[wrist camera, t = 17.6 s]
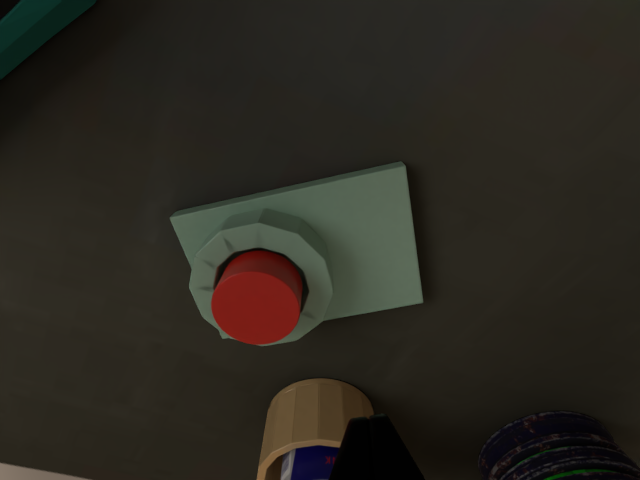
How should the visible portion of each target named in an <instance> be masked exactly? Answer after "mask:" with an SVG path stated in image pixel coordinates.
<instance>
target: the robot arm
mask: <svg viewBox="0 0 640 480" xmlns="http://www.w3.org/2000/svg"><path fill="white" fill-rule="evenodd" d="M328 480H425V478H424V477H423V475H422V473H421V472H420V470H419V468H418V467H417V465H416V463H415V461H414V460H413V458H412V456H411V455H410V453H409V451H408V450H407V448H406V446H405V445H404V443H403V441H402V440H401V438H400V436H399V434H398V433H397V431H396V429H395V428H394V426H393V424H392V423H391V421H390V419H389V418H388V416H387V415H386V414H377V415H371V416H369V418H367V417H366V416H363V417H356V418H351V419H350V420H349V422H348V424H347V427H346V430H345V433H344V436H343V439H342V442H341V445H340V447H339V450H338V453H337V456H336V459H335V462H334V465H333V468H332V471H331V474H330V476H329V479H328Z"/></svg>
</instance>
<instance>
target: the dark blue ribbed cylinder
mask: <svg viewBox="0 0 640 480" xmlns="http://www.w3.org/2000/svg"><path fill="white" fill-rule="evenodd" d="M478 467H479V470H480V473H481V476H482V478H483V480H640V468H639V467H638V466H637V465H636V463H635V462H634V461H633V460H632V459H630V458H629V457H628V456H627V455H626V454H625V452H624V451H623V450H622V449H621V448H620V447H619V446H618V445H617V444H616V443H614V440H613V438H612V436H611V435H610V434H609V432H608V431H607V430H606V428H605V427H604V426H603V425H602V424H601V423H600V422H598V421H597V420H595V419H593V418H592V417H589V416H586V415H584V414H580V413H575V412H566V411H554V412H544V413H538V414H534V415H530V416H527V417H524V418H521V419H518V420H516V421H514V422H512V423H510V424H508V425H506V426H505V427H503V428H501V429H500V430H498V431H497V432H496V433H495V434H493V435H492V436H491V437H490V438H489V439H488V440H487V442H486V443H485V444H484V446H483V447H482V449H481V452H480V454H479V458H478Z"/></svg>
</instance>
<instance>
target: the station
mask: <svg viewBox="0 0 640 480" xmlns="http://www.w3.org/2000/svg"><path fill="white" fill-rule="evenodd" d="M170 220H171V223H172V225H173V227H174V229H175V232H176V234H177V236H178V239H179V241H180V243H181V245H182V248H183V250H184V252H185V255H186V257H187V259H188V261H189V264H190V266H191V268H192V271H191V277H190V282H189V287H190V291H191V293H192V295H193V297H194V300H195V302H196V304H197V306H198V309H199V311H200V313H201V315H202V316H203V318H204V319H205V320H206V321H208V322H209V323H210V324H212V325H213V326H214V327H216V328H217V329H218V330H219V332H220V335H221V337H222V339H224V338H230V339H234V338H232V337H231V336H229V335H228V334H226V333H225V332H224V331H223V330H222V329H221V328H220V327H219V326H218V324H217V323H216V321H215V319H214V317H213V314H212V310H211V299H212V295H213V293H214V291H215V289H216V287H217V285H218V283H219V281H220V279H221V277H222V275H223V273H224V271H225V269H226V267H227V266H228V264H229V263H230V262H231V261H232V260H233V259H234V258H236V257H237V256H239V255H241V254H244V253H247V252H250V251H268V252H273V253H276V254H278V255H280V256H282V257H284V258H285V259H287V260H288V261H289V262H291V263H292V264H293V265H294V267H295V268H296V269H297V271H298V273H299V274H300V277H301V280H302V298H301V308H300V317H299V320H298V323H297V325H296V326H295V328H294V329H293V330H292V332H291V333H290V334H288V335H287V336H286V337H284V338H283V339H281V340H279V341H276V342H274V343H270V344H263V345H259V346H268V345H274V344H280V343H285V342H291V341H296V340H298V339H300V338H301V337H302V336H304V335H305V334H306V333H308V332H309V331H310V330H312V329H313V328H314V327H316V326H317V325H318V324H320V323H321V322H322V321H325V320H330V319H336V318H341V317H347V316H352V315H358V314H364V313H369V312H375V311H380V310H386V309H391V308H397V307H403V306H408V305H414V304H419V303H423V296H422V288H421V280H420V273H419V265H418V257H417V249H416V241H415V234H414V226H413V218H412V210H411V203H410V195H409V187H408V179H407V172H406V166H405V165H404V164H403V162H402V161H400V162H395V163H391V164H386V165H382V166H377V167H373V168H368V169H364V170H359V171H355V172H350V173H346V174H341V175H337V176H332V177H328V178H323V179H319V180H314V181H310V182H305V183H301V184H296V185H292V186H287V187H283V188H278V189H274V190H269V191H265V192H260V193H256V194H251V195H247V196H242V197H238V198H233V199H229V200H224V201H220V202H215V203H211V204H206V205H202V206H197V207H193V208H188V209H184V210H179V211H176V212H175V213H174V214H173V215H172V216H171V217H170ZM234 340H236V339H234ZM255 345H256V344H255Z"/></svg>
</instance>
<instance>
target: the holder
mask: <svg viewBox="0 0 640 480" xmlns="http://www.w3.org/2000/svg"><path fill="white" fill-rule="evenodd" d="M371 415H374V410H373V407H372V404H371V402H370V401H369V399H368V398H367V397H366V395H364V394H363V393H362V392H361V391H360V390H359V389H357V388H356V387H354V386H352V385H350V384H348V383H345V382H342V381H339V380H334V379H326V378H314V379H307V380H302V381H299V382H296V383H293V384H291V385H289V386H287V387H286V388H284V389H282V390H281V391H280V392H279V393H278V394H277V395H276V396H275V397H274V398H273V400H272V401H271V403H270V406H269V409H268V413H267V419H266V425H265V431H264V437H263V443H262V449H261V455H260V461H259V467H258V474H257V480H280V479H281V470H282V461H283V454H285V453H287V452H289V451H291V450H293V449H295V448H302V447H309V446H316V445H322V446H330V447H338V448H339V447H340V445H341V442H342V439H343V436H344V433H345V430H346V427H347V424H348V422H349V420H350V419H351V418H356V417H363V416H366V417H367V418H369V416H371Z"/></svg>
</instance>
